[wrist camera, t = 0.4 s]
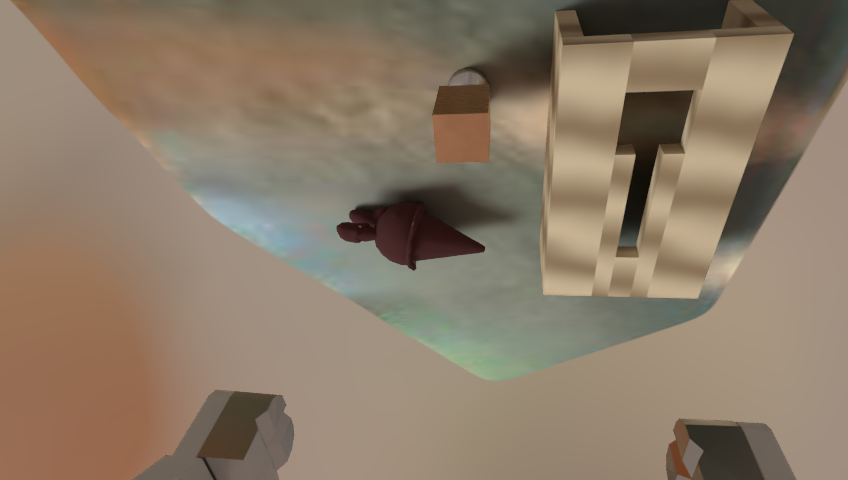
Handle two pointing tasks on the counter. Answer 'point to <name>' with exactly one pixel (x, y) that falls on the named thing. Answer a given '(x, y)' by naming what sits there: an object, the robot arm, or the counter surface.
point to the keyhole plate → (675, 163)
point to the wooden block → (463, 118)
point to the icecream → (407, 234)
